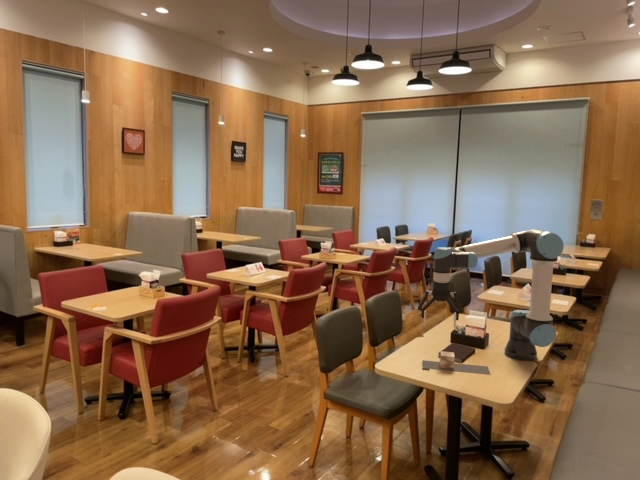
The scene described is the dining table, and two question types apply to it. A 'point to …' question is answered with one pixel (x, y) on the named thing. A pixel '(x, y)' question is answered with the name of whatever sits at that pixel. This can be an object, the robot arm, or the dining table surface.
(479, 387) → the dining table surface
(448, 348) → the book
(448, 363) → the block
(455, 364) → the mat
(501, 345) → the dining table surface
